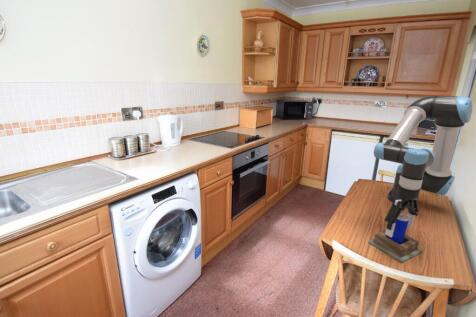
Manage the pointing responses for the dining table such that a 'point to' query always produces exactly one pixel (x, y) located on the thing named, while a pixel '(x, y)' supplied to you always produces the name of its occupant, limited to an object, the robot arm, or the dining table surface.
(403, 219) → the beverage can
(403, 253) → the socket block
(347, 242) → the dining table surface
